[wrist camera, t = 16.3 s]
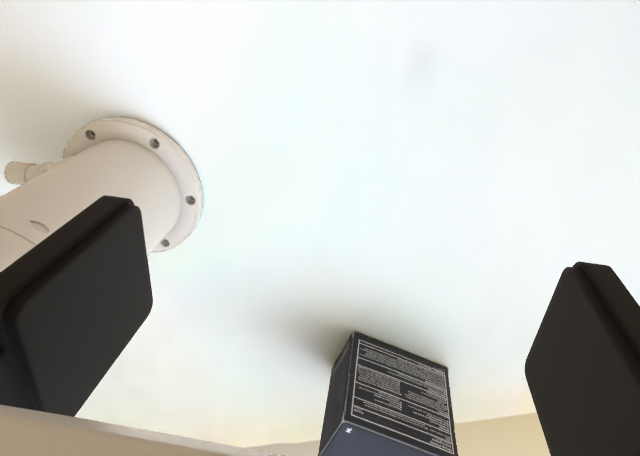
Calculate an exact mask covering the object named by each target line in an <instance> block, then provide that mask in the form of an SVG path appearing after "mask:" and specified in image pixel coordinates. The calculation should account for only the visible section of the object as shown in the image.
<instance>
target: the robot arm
mask: <svg viewBox="0 0 640 456" xmlns="http://www.w3.org/2000/svg"><path fill="white" fill-rule="evenodd" d="M157 140H158V141H159V142H158V141H157ZM4 173H5V178H6V180H7V181H8V182H9V183H12V184H18V185H21V186H19V187H17V188H16V189H14V190H12V191H10V192H8V193H7V194H5V195H3V196H1V197H0V456H283V455H278V454H272V453H267V452H262V451H256V450H251V449H246V448H240V447H235V446H230V445H224V444H219V443H214V442H208V441H203V440H198V439H192V438H187V437H181V436H176V435H170V434H165V433H159V432H154V431H148V430H143V429H137V428H132V427H126V426H121V425H115V424H110V423H104V422H99V421H93V420H88V419H82V418H77V417H74V416H75V415H76V414H77V412H78V411H79V409H80V408H81V407H82V405H83V404H84V403H85V401H86V400H87V399H88V397H89V396H90V394H91V393H92V392H93V390H94V389H95V388H96V386H97V385H98V384H99V382H100V381H101V379H102V378H103V377H104V375H105V374H106V373H107V371H108V370H109V368H110V367H111V366H112V364H113V363H114V362H115V360H116V359H117V358H118V356H119V355H120V353H121V352H122V351H123V349H124V348H125V347H126V345H127V344H128V343H129V341H130V340H131V338H132V337H133V336H134V334H135V333H136V332H137V330H138V329H139V327H140V326H141V325H142V323H143V322H144V321H145V319H146V318H147V317H148V315H149V313H150V311H151V308H152V303H153V298H152V290H151V282H150V275H149V267H148V259H147V256H148V255H149V254H150V253H155V252H163V251H166V250H169V249H172V248H174V247H176V246H177V245H179V244H181V243H182V242H183V241H184V240H185V239H186V238H187V237H188V236H189V235H190V234H191V233H192V232H193V230H194V229H195V228H196V226H197V224H198V222H199V219H200V217H201V213H202V208H203V192H202V187H201V182H200V179H199V177H198V174H197V172H196V169H195V167H194V166H193V164H192V162H191V161H190V159H189V158H188V156H187V155H186V154H185V152H184V151H183V150H182V149H181V148H180V147H179V145H178V144H177V143H175V142H174V141H173V140H172V139H171V138H170V137H168V136H167V135H166V134H165V133H163V132H161V131H160V130H158V129H156V128H155V127H153V126H151V125H148V124H146V123H144V122H141V121H138V120H134V119H129V118H119V117H111V118H105V119H100V120H97V121H95V122H93V123H90V124H88V125H86V126H85V127H83V128H81V129H80V130H78V131H77V132H76V133H75V134H74V135H73V136H72V137H71V138H70V140H69V142H68V143H67V145H66V147H65V149H64V153H63V157H62V160H60V161H58V162H57V163H51V162H49V163H45V164H44V165H43V166H40V165H36V164H31V163H24V162H16V161H11V162H9V163H8V164H7V166H6V167H5V172H4ZM525 375H526V379H527V382H528V385H529V389H530V392H531V395H532V398H533V401H534V404H535V407H536V410H537V414H538V417H539V420H540V423H541V426H542V429H543V432H544V435H545V438H546V442H547V445H548V448H549V451H550V454H551V456H640V306H639V305H638V304H637V302H636V301H635V300H634V298H633V297H632V295H631V294H630V293H629V291H628V290H627V289H626V287H625V286H624V284H623V283H622V282H621V280H620V279H619V278H618V276H617V275H616V274H615V272H614V271H613V269H612V268H611V267H609V266H606V265H599V264H592V263H585V262H577V263H575V264H574V265H573V267H567V268H565V269H564V270H563V272H562V274H561V277H560V279H559V282H558V284H557V287H556V289H555V291H554V294H553V296H552V299H551V301H550V303H549V306H548V308H547V311H546V313H545V316H544V318H543V320H542V323H541V325H540V328H539V330H538V332H537V335H536V337H535V340H534V342H533V345H532V347H531V349H530V352H529V354H528V357H527V359H526V363H525Z"/></svg>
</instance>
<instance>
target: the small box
mask: <svg viewBox="0 0 640 456" xmlns="http://www.w3.org/2000/svg"><path fill="white" fill-rule="evenodd" d="M318 456H458V453H457V445H456V439H455V432H454V420H453V413H452V404H451V397H450V388H449V379H448V369H447V368H445V367H443V366H440V365H438V364H435V363H433V362H430V361H428V360H425V359H422V358H420V357H417V356H415V355H412V354H410V353H407V352H405V351H402V350H400V349H397V348H395V347H392V346H390V345H387V344H385V343H382V342H380V341H377V340H375V339H372V338H369V337H367V336H364V335H362V334H359V333H357V332H353V333H352V334H351V335H350V337H349V340H348V341H347V342H346V345H345V347H344V348H343V350H342V352H341V353H340V355H339V357H338V358H337V359H336V361H335V363H334V366H333V368H332V371H331V378H330V385H329V391H328V397H327V404H326V410H325V416H324V422H323V429H322V434H321V441H320V447H319V453H318Z"/></svg>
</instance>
